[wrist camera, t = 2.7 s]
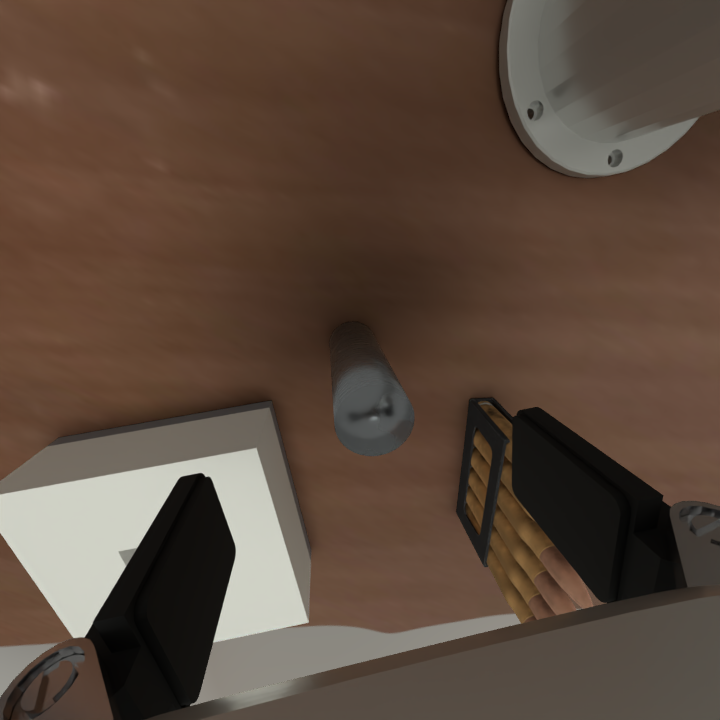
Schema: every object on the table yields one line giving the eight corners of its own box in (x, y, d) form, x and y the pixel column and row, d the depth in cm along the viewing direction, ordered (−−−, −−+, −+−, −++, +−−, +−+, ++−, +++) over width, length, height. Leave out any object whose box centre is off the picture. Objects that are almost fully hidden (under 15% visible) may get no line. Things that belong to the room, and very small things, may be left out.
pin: (325, 325, 21) (328, 393, 12) (372, 318, 21) (410, 378, 12) (333, 368, 22) (341, 462, 13) (377, 361, 22) (417, 448, 13)
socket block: (58, 437, 22) (-24, 498, 17) (271, 400, 22) (256, 447, 17) (138, 584, 27) (94, 667, 21) (311, 550, 27) (308, 622, 22)
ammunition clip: (477, 511, 28) (581, 694, 17) (455, 513, 28) (546, 699, 16) (493, 396, 24) (641, 531, 13) (469, 398, 24) (597, 535, 13)
